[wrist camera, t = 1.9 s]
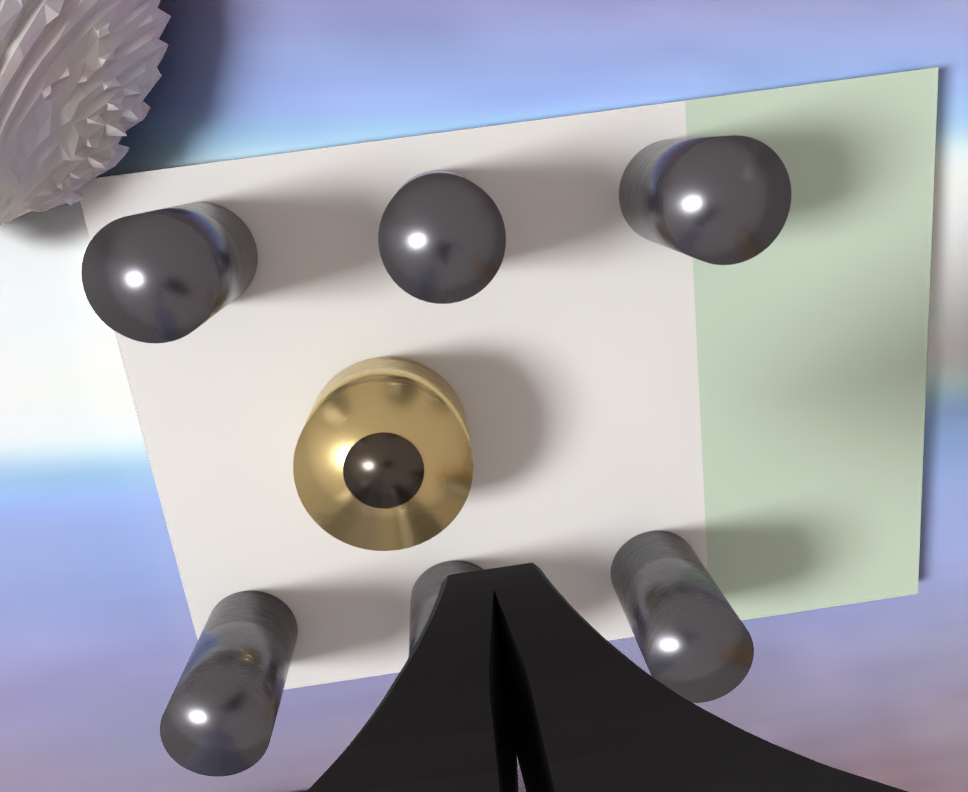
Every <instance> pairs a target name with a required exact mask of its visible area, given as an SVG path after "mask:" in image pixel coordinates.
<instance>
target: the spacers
mask: <svg viewBox="0 0 968 792" xmlns="http://www.w3.org/2000/svg"><path fill="white" fill-rule="evenodd" d="M791 194H792V193H791V183H790V178H789V175H788V172H787V169H786V167H785V165H784V163H783V162H782V160H781V159H780V157H779V156H778V155H777V154H776V153H775V152H774V150H773V149H771V148H770V147H769V146H767V145H766V144H764V143H763V142H761V141H759V140H756V139H754V138H751V137H746V136H739V135H732V136H715V137H699V138H682V139H666V140H661V141H657V142H654V143H652V144H650V145H648V146H646V147H645V148H643V149H642V150H640V151H639V152H638V153H637V154H636V155H635V156H634V157H633V158H632V159H631V161H630V162H629V163H628V165H627V167H626V169H625V170H624V173H623V175H622V178H621V182H620V187H619V203H620V208H621V211H622V214H623V216H624V219H625V220H626V222H627V224H628V225H629V226H630V227H631V229H632V230H633V231H635V232H636V233H637V234H638V235H640V236H641V237H643V238H645V239H647V240H649V241H652V242H654V243H657V244H660V245H662V246H665V247H667V248H670V249H673V250H675V251H678V252H680V253H683V254H685V255H688V256H691V257H693V258H696V259H698V260H701V261H704V262H707V263H710V264H715V265H733V264H737V263H741V262H744V261H747V260H749V259H751V258H753V257H755V256H757V255H758V254H760V253H761V252H763V251H764V250H765V249H766V248H768V247H769V246H770V245H771V244H772V242H773V241H774V240H775V239H776V238H777V236H778V235H779V234H780V232H781V230H782V228H783V227H784V225H785V222H786V220H787V217H788V214H789V211H790V205H791ZM378 244H379V251H380V256H381V259H382V262H383V265H384V267H385V269H386V270H387V272H388V274H389V275H390V277H391V278H392V280H393V281H394V282H395V283H396V284H397V285H398V286H399V287H400V288H401V289H402V290H404V291H405V292H406V293H408V294H410V295H411V296H413V297H415V298H417V299H419V300H422V301H425V302H430V303H435V304H449V303H455V302H460V301H463V300H466V299H468V298H470V297H472V296H474V295H476V294H477V293H479V292H480V291H481V290H483V289H484V288H485V287H486V286H487V285H488V284H489V283H490V282H491V281H492V279H493V278H494V277H495V275H496V274H497V272H498V270H499V268H500V266H501V264H502V261H503V258H504V253H505V248H506V231H505V226H504V222H503V219H502V216H501V213H500V211H499V209H498V207H497V206H496V204H495V203H494V201H493V200H492V199H491V197H490V196H489V195H488V194H487V193H486V192H485V191H484V190H483V189H482V188H480V187H479V186H477V185H476V184H474V183H473V182H471V181H469V180H468V179H466V178H465V177H463V176H461V175H459V174H456V173H453V172H449V171H443V170H433V171H427V172H423V173H421V174H418V175H416V176H414V177H412V178H411V179H409V180H408V181H407V182H406V183H404V184H403V185H402V186H401V188H400V189H399V190H398V191H397V193H396V194H395V195H394V196H393V198H392V199H391V200H390V202H389V204H388V205H387V207H386V209H385V211H384V213H383V215H382V218H381V222H380V226H379V232H378ZM257 264H258V253H257V247H256V243H255V240H254V238H253V235H252V233H251V231H250V230H249V228H248V227H247V225H246V224H245V223H244V222H243V221H242V220H241V219H240V217H238V216H237V215H236V214H235V213H233V212H232V211H230V210H229V209H227V208H225V207H223V206H220V205H217V204H214V203H209V202H192V203H187V204H182V205H178V206H173V207H168V208H163V209H158V210H154V211H149V212H144V213H139V214H134V215H130V216H125V217H122V218H119V219H116V220H114V221H112V222H110V223H108V224H107V225H106V226H104V227H103V228H102V229H100V230H99V231H98V232H97V233H96V234H95V236H94V237H93V238H92V240H91V241H90V243H89V245H88V247H87V249H86V252H85V254H84V258H83V263H82V281H83V286H84V290H85V293H86V296H87V299H88V301H89V303H90V305H91V306H92V308H93V309H94V311H95V312H96V314H97V315H98V316H99V317H100V318H101V320H102V321H103V322H105V323H106V324H107V325H108V326H109V327H110V328H112V329H113V330H114V331H116V332H118V333H119V334H121V335H123V336H125V337H127V338H130V339H132V340H136V341H139V342H145V343H166V342H171V341H175V340H178V339H181V338H183V337H185V336H187V335H188V334H190V333H191V332H193V331H194V330H195V329H197V328H198V327H199V326H201V325H202V324H203V323H205V322H206V321H207V320H208V319H210V318H211V317H212V316H214V315H215V314H216V313H218V312H219V311H220V310H222V309H223V308H224V307H226V306H227V305H228V304H229V303H231V302H232V301H233V300H235V299H236V298H237V297H239V296H240V295H241V294H242V293H243V292H244V291H245V290H246V289H247V288H248V287H249V286H250V284H251V282H252V281H253V278H254V276H255V273H256V270H257ZM478 570H484V569H483V568H481V567H480V566H478V565H476V564H473V563H471V562H467V561H461V560H451V561H445V562H441V563H438V564H436V565H434V566H432V567H430V568H429V569H427V570H426V571H425V572H423V573H422V574H421V576H420V577H419V578H418V579H417V581H416V582H415V584H414V586H413V589H412V592H411V600H410V629H409V656H410V654H411V652H412V650H413V648H414V646H415V644H416V642H417V641H418V639H419V637H420V635H421V633H422V631H423V629H424V627H425V625H426V623H427V620H428V618H429V616H430V614H431V611H432V609H433V607H434V604H435V602H436V599H437V596H438V594H439V591H440V587H441V583H442V582H443V581H444V580H445V578H446V577H447V576H448V575H451V574H458V573H465V572H471V571H478ZM610 572H611V582H612V585H613V588H614V590H615V592H616V595H617V597H618V599H619V602H620V604H621V606H622V608H623V611H624V613H625V615H626V618H627V620H628V622H629V625H630V627H631V629H632V632H633V634H634V636H635V639H636V641H637V643H638V645H639V648H640V650H641V652H642V655H643V657H644V659H645V662H646V664H647V666H648V669H649V671H650V673H651V675H652V677H653V678H654V679H656V680H657V681H659V682H660V683H662V684H663V685H665V686H666V687H668V688H669V689H671V690H672V691H674V692H675V693H677V694H678V695H680V696H682V697H683V698H685V699H687V700H688V701H690V702H692V703H700V702H707V701H711V700H714V699H717V698H720V697H722V696H724V695H726V694H727V693H729V692H730V691H732V690H733V689H735V688H736V687H737V686H738V685H739V684H740V683H741V682H742V680H743V679H744V678H745V676H746V675H747V673H748V671H749V669H750V667H751V664H752V661H753V654H754V648H753V642H752V638H751V636H750V634H749V632H748V631H747V629H746V627H745V626H744V625H743V623H742V622H741V620H740V619H739V617H738V616H737V614H736V613H735V611H734V610H733V608H732V607H731V605H730V604H729V602H728V601H727V599H726V598H725V596H724V595H723V593H722V592H721V590H720V589H719V587H718V586H717V585H716V583H715V582H714V580H713V579H712V577H711V576H710V574H709V573H708V571H707V570H706V568H705V567H704V565H703V564H702V562H701V561H700V559H699V558H698V556H697V555H696V553H695V552H694V550H693V549H692V547H691V546H690V545H689V544H688V542H687V541H686V540H684V539H683V538H682V537H680V536H679V535H677V534H674V533H671V532H668V531H660V530H655V531H648V532H644V533H641V534H638V535H636V536H634V537H633V538H631V539H629V540H628V541H627V542H626V543H624V544H623V545H622V547H621V548H620V549H619V550H618V552H617V553H616V555H615V557H614V559H613V561H612V565H611V571H610ZM297 636H298V626H297V621H296V618H295V616H294V614H293V612H292V611H291V609H290V608H289V607H288V606H287V605H286V604H285V603H284V602H283V601H282V600H280V599H279V598H277V597H275V596H273V595H271V594H268V593H265V592H261V591H250V590H249V591H241V592H237V593H234V594H231V595H229V596H227V597H225V598H224V599H222V600H221V601H220V602H219V603H218V604H217V605H216V606H215V607H214V608H213V610H212V612H211V614H210V616H209V618H208V620H207V622H206V624H205V626H204V629H203V631H202V633H201V635H200V637H199V639H198V641H197V644H196V646H195V648H194V650H193V652H192V654H191V656H190V658H189V661H188V663H187V665H186V667H185V669H184V671H183V673H182V676H181V678H180V680H179V682H178V684H177V686H176V688H175V691H174V693H173V695H172V697H171V699H170V701H169V703H168V705H167V708H166V710H165V712H164V714H163V716H162V720H161V724H160V735H161V740H162V742H163V745H164V747H165V749H166V751H167V752H168V754H169V755H170V756H171V757H172V758H173V759H174V760H175V761H176V762H177V763H178V764H180V765H181V766H183V767H184V768H186V769H188V770H190V771H192V772H195V773H198V774H202V775H207V776H228V775H233V774H236V773H239V772H242V771H244V770H246V769H248V768H250V767H251V766H253V765H254V764H255V763H257V762H258V761H259V760H260V759H261V757H262V756H263V755H264V753H265V752H266V750H267V748H268V745H269V742H270V738H271V735H272V731H273V727H274V723H275V720H276V716H277V712H278V708H279V705H280V701H281V697H282V693H283V689H284V686H285V682H286V678H287V674H288V671H289V667H290V663H291V659H292V656H293V652H294V648H295V644H296V641H297Z"/></svg>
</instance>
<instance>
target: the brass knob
mask: <svg viewBox="0 0 968 792" xmlns="http://www.w3.org/2000/svg"><path fill="white" fill-rule="evenodd" d="M293 475H294V482H295V486H296V490H297V493H298V496H299V498H300V500H301V502H302V504H303V506H304V508H305V509H306V511H307V513H308V514H309V515H310V516H311V518H312V519H313V520H314V521H315V522H316V523H317V524H318V525H319V526H320V527H321V528H322V529H323V530H324V531H326V532H327V533H328V534H330V535H331V536H333V537H335V538H336V539H338V540H340V541H342V542H344V543H346V544H349V545H351V546H354V547H358V548H362V549H367V550H373V551H394V550H401V549H406V548H410V547H413V546H416V545H419V544H421V543H423V542H425V541H428V540H430V539H431V538H433V537H434V536H436V535H438V534H439V533H440V532H442V531H443V530H444V529H445V528H446V527H448V526H449V524H450V523H451V522H452V521H453V520H454V519H455V518H456V517H457V515H458V514H459V512H460V511H461V509H462V508H463V506H464V504H465V502H466V500H467V497H468V495H469V492H470V489H471V484H472V479H473V458H472V451H471V445H470V438H469V432H468V425H467V420H466V415H465V411H464V409H463V406H462V403H461V401H460V399H459V397H458V395H457V394H456V392H455V391H454V390H453V388H452V387H451V386H450V384H449V383H448V382H447V381H446V380H445V379H444V378H443V377H441V376H440V375H439V374H438V373H437V372H435V371H434V370H432V369H430V368H429V367H427V366H425V365H423V364H421V363H418V362H415V361H412V360H409V359H405V358H399V357H375V358H370V359H365V360H362V361H360V362H357V363H354V364H352V365H350V366H348V367H346V368H345V369H343V370H342V371H340V372H339V373H337V374H336V375H335V376H334V377H333V378H332V379H330V380H329V381H328V383H327V384H326V385H325V386H324V387H323V389H322V390H321V392H320V393H319V395H318V396H317V398H316V401H315V403H314V405H313V407H312V409H311V412H310V414H309V416H308V418H307V421H306V423H305V425H304V427H303V430H302V432H301V434H300V436H299V439H298V441H297V445H296V448H295V452H294V459H293Z"/></svg>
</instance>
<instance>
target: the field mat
mask: <svg viewBox="0 0 968 792" xmlns="http://www.w3.org/2000/svg"><path fill="white" fill-rule="evenodd" d="M938 68H939V67H936V68H928V69H921V70H913V71H905V72H898V73H890V74H883V75H875V76H867V77H860V78H852V79H845V80H837V81H829V82H822V83H814V84H807V85H799V86H791V87H784V88H776V89H769V90H761V91H753V92H746V93H738V94H731V95H723V96H715V97H708V98H700V99H693V100H685V101H677V102H670V103H662V104H654V105H647V106H639V107H632V108H624V109H616V110H609V111H601V112H594V113H586V114H578V115H571V116H563V117H556V118H548V119H540V120H533V121H525V122H518V123H510V124H502V125H495V126H487V127H480V128H472V129H464V130H457V131H449V132H442V133H434V134H426V135H419V136H411V137H404V138H396V139H388V140H381V141H373V142H365V143H358V144H350V145H343V146H335V147H327V148H320V149H312V150H305V151H297V152H289V153H282V154H274V155H267V156H259V157H251V158H244V159H236V160H229V161H221V162H213V163H206V164H198V165H191V166H183V167H175V168H168V169H160V170H153V171H145V172H137V173H130V174H122V175H114V176H107V177H99V178H94V179H92V180H90V181H88V182H87V183H85V184H83V185H82V186H80V187H79V188H80V191H81V194H82V196H83V199H82V200H80V204H81V208H82V212H83V215H84V219H85V223H86V227H87V230H88V234H89V238H90V241H91V240H92V238H93V237H94V236H95V234H96V233H97V232H98V231H99V230H100V229H102V228H103V227H104V226H106V225H107V224H108V223H110V222H112V221H114V220H116V219H119V218H122V217H125V216H130V215H134V214H139V213H144V212H149V211H154V210H158V209H163V208H168V207H173V206H178V205H182V204H187V203H192V202H209V203H214V204H217V205H220V206H223V207H225V208H227V209H229V210H230V211H232V212H233V213H235V214H236V215H237V216H238V217H240V219H241V220H242V221H243V222H244V223H245V224H246V225H247V227H248V228H249V230H250V231H251V233H252V235H253V238H254V240H255V243H256V247H257V253H258V264H257V270H256V273H255V276H254V278H253V281H252V282H251V284H250V286H249V287H248V288H247V289H246V290H245V291H244V292H243V293H242V294H241V295H240V296H239V297H237V298H236V299H235V300H233V301H232V302H231V303H229V304H228V305H227V306H226V307H224V308H223V309H222V310H220V311H219V312H218V313H216V314H215V315H214V316H212V317H211V318H210V319H208V320H207V321H206V322H205V323H203V324H202V325H201V326H199V327H198V328H197V329H195V330H194V331H193V332H191V333H190V334H188V335H187V336H185V337H183V338H181V339H178V340H175V341H171V342H166V343H145V342H139V341H136V340H132V339H130V338H127V337H125V336H123V335H121V334H119V333H118V332H116V331H115V334H116V338H117V342H118V346H119V349H120V353H121V357H122V360H123V364H124V368H125V372H126V375H127V379H128V383H129V386H130V390H131V394H132V398H133V401H134V405H135V409H136V412H137V416H138V420H139V424H140V427H141V431H142V435H143V439H144V442H145V446H146V450H147V453H148V457H149V461H150V465H151V468H152V472H153V476H154V479H155V483H156V487H157V491H158V494H159V498H160V502H161V505H162V509H163V513H164V517H165V520H166V524H167V528H168V531H169V535H170V539H171V543H172V546H173V550H174V554H175V558H176V561H177V565H178V569H179V572H180V576H181V580H182V584H183V587H184V591H185V595H186V598H187V602H188V606H189V610H190V613H191V617H192V621H193V624H194V628H195V632H196V636H197V639H199V637H200V635H201V633H202V631H203V629H204V626H205V624H206V622H207V620H208V618H209V616H210V614H211V612H212V610H213V608H214V607H215V606H216V605H217V604H218V603H219V602H220V601H221V600H222V599H224V598H225V597H227V596H229V595H231V594H234V593H237V592H241V591H249V590H250V591H261V592H265V593H268V594H271V595H273V596H275V597H277V598H279V599H280V600H282V601H283V602H284V603H285V604H286V605H287V606H288V607H289V608H290V609H291V611H292V612H293V614H294V616H295V618H296V621H297V626H298V636H297V641H296V644H295V648H294V652H293V656H292V659H291V663H290V667H289V671H288V674H287V678H286V682H285V686H284V689H283V690H285V689H292V688H298V687H305V686H311V685H318V684H325V683H331V682H338V681H344V680H351V679H358V678H364V677H371V676H378V675H384V674H391V673H397V672H400V671H401V670H402V668H403V666H404V665H405V663H406V661H407V660H408V658H409V629H410V600H411V592H412V589H413V586H414V584H415V582H416V581H417V579H418V578H419V577H420V576H421V574H422V573H423V572H425V571H426V570H427V569H429V568H430V567H432V566H434V565H436V564H438V563H441V562H445V561H451V560H461V561H467V562H471V563H473V564H476V565H478V566H480V567H481V568H483V569H484V570H485V569H492V568H498V567H505V566H512V565H519V564H525V563H532V562H533V563H534V564H535V565H536V566H538V567H539V568H540V569H541V570H542V571H543V573H544V574H545V576H546V577H547V578H548V579H549V581H550V582H551V583H552V584H553V586H554V587H555V588H556V589H557V590H558V592H559V593H560V594H561V595H562V596H563V597H564V598H565V599H566V600H567V602H568V603H569V604H570V605H571V606H572V607H573V608H574V609H575V610H576V611H577V612H578V613H579V614H580V615H581V616H582V617H583V618H584V619H585V620H586V621H587V622H588V623H589V624H590V625H591V626H592V627H593V628H594V629H595V630H596V631H597V632H599V633H600V634H601V635H602V636H603V637H604V638H605V639H606V640H607V641H609V640H615V639H622V638H629V637H635V636H634V634H633V632H632V629H631V627H630V625H629V622H628V620H627V618H626V615H625V613H624V611H623V608H622V606H621V604H620V602H619V599H618V597H617V595H616V592H615V590H614V588H613V585H612V582H611V572H610V571H611V565H612V561H613V559H614V557H615V555H616V553H617V552H618V550H619V549H620V548H621V547H622V545H623V544H624V543H626V542H627V541H628V540H629V539H631V538H633V537H634V536H636V535H638V534H641V533H644V532H648V531H655V530H660V531H668V532H671V533H674V534H677V535H679V536H680V537H682V538H683V539H684V540H686V541H687V542H688V544H689V545H690V546H691V547H692V549H693V550H694V552H695V553H696V555H697V556H698V558H699V559H700V561H701V562H702V564H703V565H704V567H705V568H706V570H707V571H708V573H709V574H710V576H711V577H712V579H713V580H714V582H715V583H716V585H717V586H718V587H719V589H720V590H721V592H722V593H723V595H724V596H725V598H726V599H727V601H728V602H729V604H730V605H731V607H732V608H733V610H734V611H735V613H736V614H737V616H738V617H739V619H740V620H748V619H754V618H761V617H767V616H774V615H781V614H787V613H794V612H800V611H807V610H814V609H820V608H827V607H833V606H840V605H847V604H853V603H860V602H866V601H873V600H880V599H886V598H893V597H899V596H906V595H913V594H918V577H919V552H920V526H921V501H922V476H923V450H924V425H925V399H926V374H927V348H928V323H929V297H930V272H931V247H932V221H933V196H934V170H935V145H936V119H937V94H938ZM732 135H739V136H746V137H751V138H754V139H756V140H759V141H761V142H763V143H764V144H766V145H767V146H769V147H770V148H771V149H773V150H774V152H775V153H776V154H777V155H778V156H779V157H780V159H781V160H782V162H783V163H784V165H785V167H786V169H787V172H788V175H789V178H790V183H791V193H792V194H791V205H790V211H789V214H788V217H787V220H786V222H785V225H784V227H783V228H782V230H781V232H780V234H779V235H778V236H777V238H776V239H775V240H774V241H773V242H772V244H771V245H770V246H769V247H768V248H766V249H765V250H764V251H763V252H761V253H760V254H758V255H757V256H755V257H753V258H751V259H749V260H747V261H744V262H741V263H737V264H733V265H715V264H710V263H707V262H704V261H701V260H698V259H696V258H693V257H691V256H688V255H685V254H683V253H680V252H678V251H675V250H673V249H670V248H667V247H665V246H662V245H660V244H657V243H654V242H652V241H649V240H647V239H645V238H643V237H641V236H640V235H638V234H637V233H636V232H635V231H633V230H632V229H631V227H630V226H629V225H628V224H627V222H626V220H625V219H624V216H623V214H622V211H621V208H620V203H619V187H620V182H621V178H622V175H623V173H624V170H625V169H626V167H627V165H628V163H629V162H630V161H631V159H632V158H633V157H634V156H635V155H636V154H637V153H638V152H639V151H640V150H642V149H643V148H645V147H646V146H648V145H650V144H652V143H654V142H657V141H661V140H666V139H682V138H699V137H715V136H732ZM433 170H443V171H449V172H453V173H456V174H459V175H461V176H463V177H465V178H466V179H468V180H469V181H471V182H473V183H474V184H476V185H477V186H479V187H480V188H482V189H483V190H484V191H485V192H486V193H487V194H488V195H489V196H490V197H491V199H492V200H493V201H494V203H495V204H496V206H497V207H498V209H499V211H500V213H501V216H502V219H503V222H504V226H505V231H506V248H505V253H504V258H503V261H502V264H501V266H500V268H499V270H498V272H497V274H496V275H495V277H494V278H493V279H492V281H491V282H490V283H489V284H488V285H487V286H486V287H485V288H484V289H483V290H481V291H480V292H479V293H477V294H476V295H474V296H472V297H470V298H468V299H466V300H463V301H460V302H455V303H449V304H435V303H430V302H425V301H422V300H419V299H417V298H415V297H413V296H411V295H410V294H408V293H406V292H405V291H404V290H402V289H401V288H400V287H399V286H398V285H397V284H396V283H395V282H394V281H393V280H392V278H391V277H390V275H389V274H388V272H387V270H386V269H385V267H384V265H383V262H382V259H381V256H380V251H379V244H378V232H379V226H380V222H381V218H382V215H383V213H384V211H385V209H386V207H387V205H388V204H389V202H390V200H391V199H392V198H393V196H394V195H395V194H396V193H397V191H398V190H399V189H400V188H401V186H402V185H403V184H404V183H406V182H407V181H408V180H409V179H411V178H412V177H414V176H416V175H418V174H421V173H423V172H427V171H433ZM375 357H399V358H405V359H409V360H412V361H415V362H418V363H421V364H423V365H425V366H427V367H429V368H430V369H432V370H434V371H435V372H437V373H438V374H439V375H440V376H441V377H443V378H444V379H445V380H446V381H447V382H448V383H449V384H450V386H451V387H452V388H453V390H454V391H455V392H456V394H457V395H458V397H459V399H460V401H461V403H462V406H463V409H464V411H465V415H466V420H467V425H468V432H469V438H470V445H471V451H472V458H473V479H472V484H471V489H470V492H469V495H468V497H467V500H466V502H465V504H464V506H463V508H462V509H461V511H460V512H459V514H458V515H457V517H456V518H455V519H454V520H453V521H452V522H451V523H450V524H449V526H448V527H446V528H445V529H444V530H443V531H442V532H440V533H439V534H438V535H436V536H434V537H433V538H431V539H430V540H428V541H425V542H423V543H421V544H419V545H416V546H413V547H410V548H406V549H401V550H394V551H373V550H367V549H362V548H358V547H354V546H351V545H349V544H346V543H344V542H342V541H340V540H338V539H336V538H335V537H333V536H331V535H330V534H328V533H327V532H326V531H324V530H323V529H322V528H321V527H320V526H319V525H318V524H317V523H316V522H315V521H314V520H313V519H312V518H311V516H310V515H309V514H308V513H307V511H306V509H305V508H304V506H303V504H302V502H301V500H300V498H299V496H298V493H297V490H296V486H295V482H294V475H293V459H294V452H295V448H296V445H297V441H298V439H299V436H300V434H301V432H302V430H303V427H304V425H305V423H306V421H307V418H308V416H309V414H310V412H311V409H312V407H313V405H314V403H315V401H316V398H317V396H318V395H319V393H320V392H321V390H322V389H323V387H324V386H325V385H326V384H327V383H328V381H329V380H330V379H332V378H333V377H334V376H335V375H336V374H337V373H339V372H340V371H342V370H343V369H345V368H346V367H348V366H350V365H352V364H354V363H357V362H360V361H362V360H365V359H370V358H375Z"/></svg>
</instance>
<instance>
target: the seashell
mask: <svg viewBox="0 0 968 792" xmlns="http://www.w3.org/2000/svg"><path fill="white" fill-rule="evenodd" d="M160 1H161V0H0V225H2V224H8V223H11V222H12V221H13V220H14V219H15V218H17V217H20V216H22V215H24V214H26V213H29V212H31V211H34V212H44V211H46V210H49V209H51V208H53V207H56V206H59V205H63V204H68V205H70V206H71V205H73V204H75V203H77V202H79V201H80V200H82V199H83V196H82V194H81V191H80V188H79V187H80V186H82V185H83V184H85V183H87V182H88V181H90V180H92V179H94V178H95V177H97V176H99V175H101V174H102V173H104V172H106V171H108V170H109V169H111V168H113V167H115V166H116V165H117V164H118V162H119V161H120V160H121V159H122V158H123V157H124V156H125V154H126V153H127V152H128V150H129V148H130V147H127V146H123V145H120V144H118V143H119V141H120V140H121V138H122V136H127V134H126V132H125V131H127V130H128V129H130V128H131V127H133V126H134V125H136V124H138V123H139V122H141V121H142V120H144V119H145V117H146V115H147V114H148V112H149V110H150V108H151V107H150V106H148V105H147V104H146V103H145V102H143V100H144V99H145V97H146V96H147V95H148V93H149V92H150V91H151V89H152V88H153V87H154V85H155V84H156V83H157V81H158V80H159V79H160V78H161V76H162V75H161V73H160V72H159V70H158V68H157V66H158V65H159V63H160V61H161V60H162V58H163V56H164V54H165V52H166V50H167V47H168V45H169V44H167V43H165V42H163V41H162V40H160V39H159V38H160V36H161V34H162V33H163V31H164V29H165V27H166V25H167V23H168V21H169V20H170V18H171V16H170V15H169V14H167V13H165V12H164V11H162V10H160V9H159V8H158V6H159V3H160Z"/></svg>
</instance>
